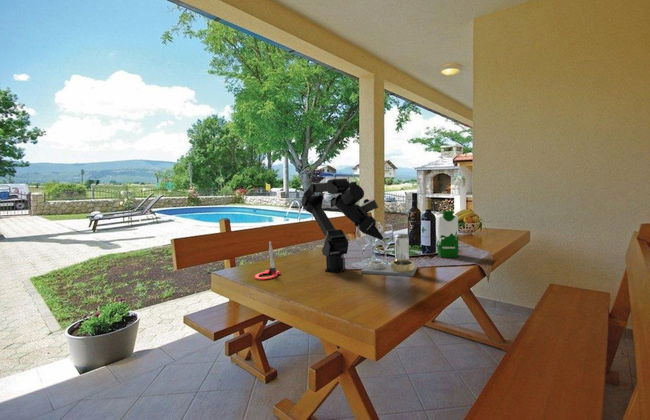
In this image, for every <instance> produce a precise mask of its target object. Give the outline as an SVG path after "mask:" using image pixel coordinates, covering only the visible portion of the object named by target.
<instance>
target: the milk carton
mask: <svg viewBox="0 0 650 420" xmlns="http://www.w3.org/2000/svg"><path fill="white" fill-rule="evenodd" d="M435 217H436V218H435V221H436V222H435V231H436V233H435V237H436V238H435V239H436V241H435V242H436V251H437V255H438V256H439V257H440V258H458V255H459V216H458V215H456V214H454V211H453V210H443V211H442V214H436V216H435Z"/></svg>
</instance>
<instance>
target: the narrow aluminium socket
mask: <svg viewBox="0 0 650 420" xmlns="http://www.w3.org/2000/svg"><path fill="white" fill-rule="evenodd" d="M367 264H368V268H370V269H376V270H378V269H383V268H384V264H385V262H384V261H382V260H370V261H368V262H367Z"/></svg>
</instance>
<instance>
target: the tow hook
mask: <svg viewBox="0 0 650 420" xmlns="http://www.w3.org/2000/svg"><path fill="white" fill-rule="evenodd" d="M268 245H269V247H268V251H269V266H270V267H269V269H266V270H265V271H262V272H259V273H256V274H255V275H254V279H255V278H256V279H260V280H259V281H266V280H265V279H270V280H273V279H275V278H277V277H278V275H279V274H280V275H281V274H282V271H281V270H277V267H276V266H275V260H274V253H273V246H272V241H268ZM269 273H271V274H269ZM263 274H267V275H270V276H264V275H263ZM260 275H262V276H260ZM280 275H279V276H280ZM259 276H260V277H259ZM272 278H273V279H272ZM256 279H255V280H256Z"/></svg>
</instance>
